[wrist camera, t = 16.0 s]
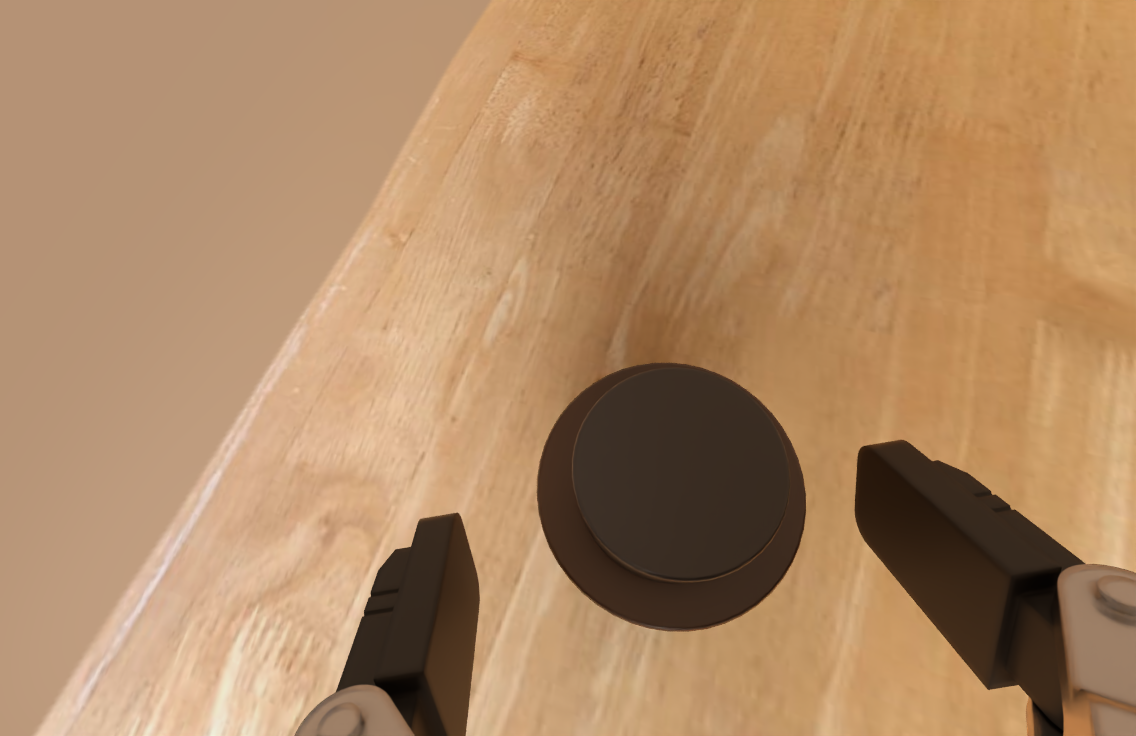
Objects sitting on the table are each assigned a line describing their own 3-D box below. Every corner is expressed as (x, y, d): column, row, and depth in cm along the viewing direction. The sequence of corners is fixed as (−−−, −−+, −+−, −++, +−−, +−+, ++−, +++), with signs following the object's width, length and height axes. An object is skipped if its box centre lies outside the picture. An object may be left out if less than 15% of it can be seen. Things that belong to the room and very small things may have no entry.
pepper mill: (623, 646, 16) (647, 716, 7) (539, 512, 18) (469, 427, 9) (746, 555, 17) (913, 509, 8) (655, 434, 19) (704, 276, 9)
